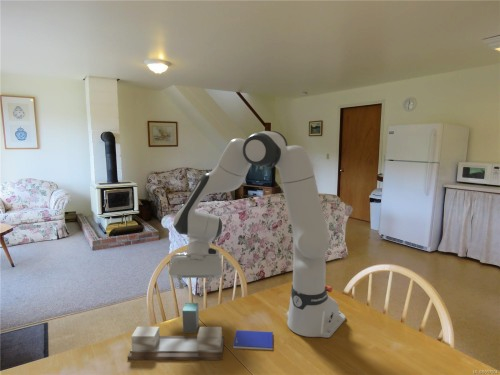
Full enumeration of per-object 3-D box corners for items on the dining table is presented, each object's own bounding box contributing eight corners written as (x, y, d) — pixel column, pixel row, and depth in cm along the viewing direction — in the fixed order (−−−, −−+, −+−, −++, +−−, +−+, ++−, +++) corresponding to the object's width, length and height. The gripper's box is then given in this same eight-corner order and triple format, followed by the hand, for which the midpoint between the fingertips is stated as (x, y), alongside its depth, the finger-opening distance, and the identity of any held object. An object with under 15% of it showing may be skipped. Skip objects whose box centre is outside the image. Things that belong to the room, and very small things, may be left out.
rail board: (224, 338, 104) (223, 322, 103) (221, 359, 94) (220, 341, 93) (139, 338, 104) (138, 322, 103) (127, 359, 94) (126, 341, 93)
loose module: (198, 323, 112) (198, 303, 111) (196, 332, 107) (195, 310, 106) (186, 323, 112) (185, 303, 111) (183, 332, 107) (182, 310, 106)
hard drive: (233, 344, 99) (272, 346, 98) (236, 329, 107) (272, 331, 106) (233, 349, 99) (272, 351, 99) (236, 333, 108) (272, 335, 107)
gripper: (170, 250, 121) (164, 285, 113) (223, 250, 121) (220, 286, 113) (173, 256, 126) (167, 291, 118) (224, 257, 126) (222, 291, 118)
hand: (194, 288), depth 116 cm, fingers open, 8 cm apart
